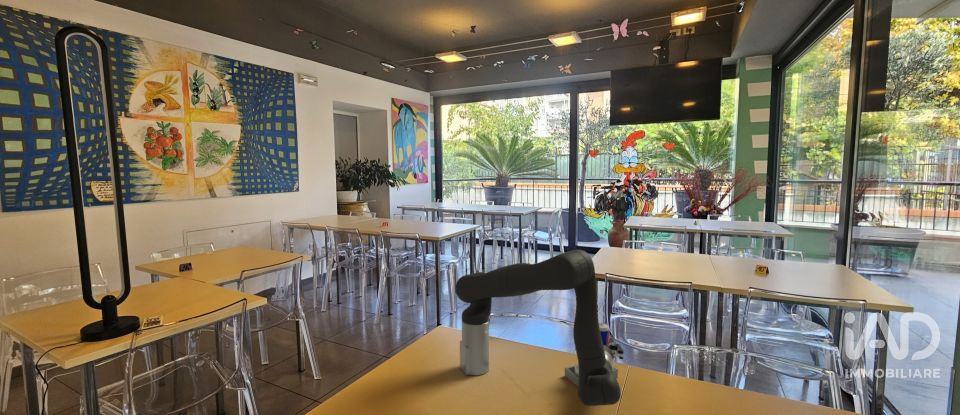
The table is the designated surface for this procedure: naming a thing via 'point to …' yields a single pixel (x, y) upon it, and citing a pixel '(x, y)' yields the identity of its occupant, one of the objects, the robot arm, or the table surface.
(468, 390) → the table surface
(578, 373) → the ball
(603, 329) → the beverage can
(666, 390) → the table surface
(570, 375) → the carrier
